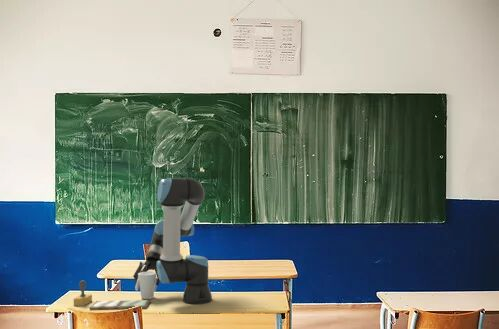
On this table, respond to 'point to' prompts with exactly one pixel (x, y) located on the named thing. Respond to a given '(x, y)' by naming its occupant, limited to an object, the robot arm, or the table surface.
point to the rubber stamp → (82, 296)
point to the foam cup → (147, 284)
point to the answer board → (119, 304)
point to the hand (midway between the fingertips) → (145, 289)
